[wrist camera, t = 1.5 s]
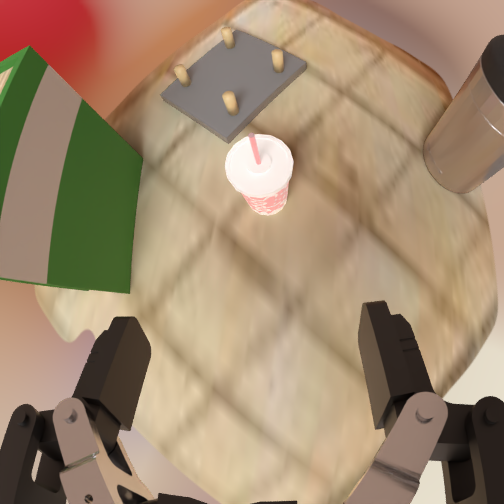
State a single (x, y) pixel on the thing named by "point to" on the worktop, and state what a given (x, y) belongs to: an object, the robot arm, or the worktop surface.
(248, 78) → the chassis
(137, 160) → the hardback book
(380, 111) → the worktop surface
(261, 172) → the beverage cup
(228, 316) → the worktop surface
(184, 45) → the worktop surface
